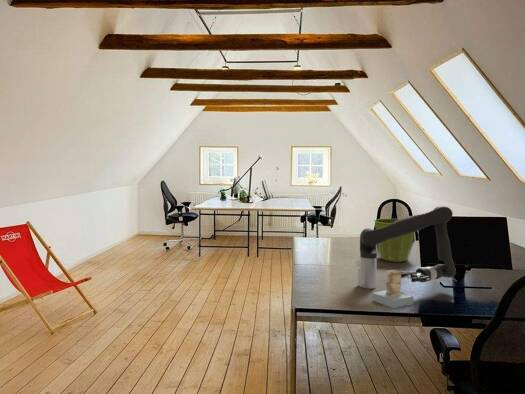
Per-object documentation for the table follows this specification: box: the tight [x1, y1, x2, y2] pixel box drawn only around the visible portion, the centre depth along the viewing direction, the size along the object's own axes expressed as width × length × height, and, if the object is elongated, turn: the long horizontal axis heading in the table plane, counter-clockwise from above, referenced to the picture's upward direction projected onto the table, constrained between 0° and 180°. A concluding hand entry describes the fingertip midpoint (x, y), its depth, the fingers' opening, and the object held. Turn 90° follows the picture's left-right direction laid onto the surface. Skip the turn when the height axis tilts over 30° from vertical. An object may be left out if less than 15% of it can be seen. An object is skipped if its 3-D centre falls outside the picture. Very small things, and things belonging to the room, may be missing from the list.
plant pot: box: [374, 218, 415, 263], centre depth 322 cm, size 30×30×29 cm
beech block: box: [385, 269, 402, 297], centre depth 223 cm, size 5×5×12 cm
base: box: [372, 289, 414, 309], centre depth 223 cm, size 14×14×4 cm
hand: (405, 278), depth 227 cm, fingers open, 8 cm apart
